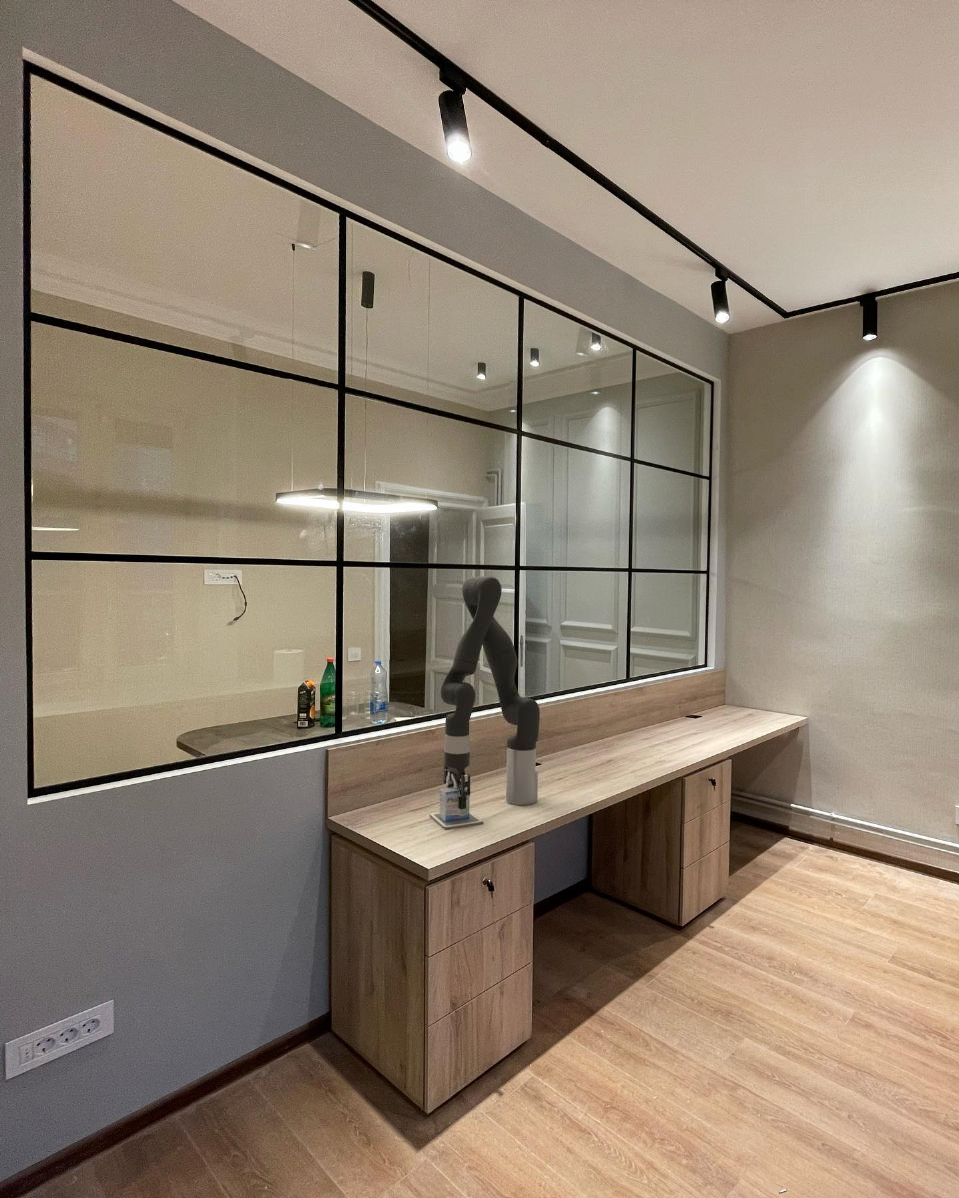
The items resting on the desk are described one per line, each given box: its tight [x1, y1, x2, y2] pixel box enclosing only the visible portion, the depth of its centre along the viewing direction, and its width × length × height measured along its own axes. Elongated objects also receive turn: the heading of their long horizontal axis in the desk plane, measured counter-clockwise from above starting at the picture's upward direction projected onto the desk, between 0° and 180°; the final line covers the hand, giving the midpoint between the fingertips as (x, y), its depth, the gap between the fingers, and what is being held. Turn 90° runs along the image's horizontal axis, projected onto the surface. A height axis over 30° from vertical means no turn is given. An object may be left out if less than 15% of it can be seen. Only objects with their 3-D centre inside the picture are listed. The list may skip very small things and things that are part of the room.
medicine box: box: [439, 786, 471, 822], centre depth 200 cm, size 8×4×9 cm, turn 115°
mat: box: [429, 810, 484, 831], centre depth 200 cm, size 12×12×1 cm
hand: (456, 804), depth 200 cm, fingers open, 8 cm apart
